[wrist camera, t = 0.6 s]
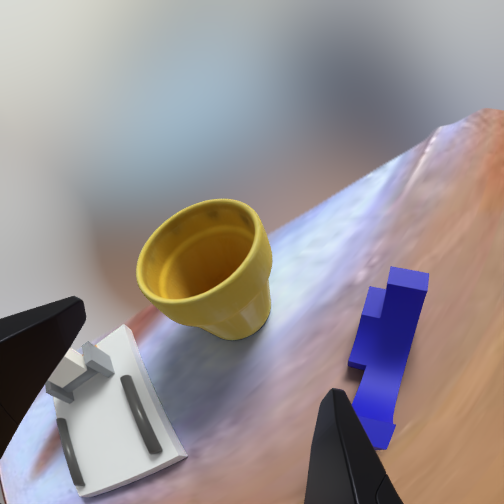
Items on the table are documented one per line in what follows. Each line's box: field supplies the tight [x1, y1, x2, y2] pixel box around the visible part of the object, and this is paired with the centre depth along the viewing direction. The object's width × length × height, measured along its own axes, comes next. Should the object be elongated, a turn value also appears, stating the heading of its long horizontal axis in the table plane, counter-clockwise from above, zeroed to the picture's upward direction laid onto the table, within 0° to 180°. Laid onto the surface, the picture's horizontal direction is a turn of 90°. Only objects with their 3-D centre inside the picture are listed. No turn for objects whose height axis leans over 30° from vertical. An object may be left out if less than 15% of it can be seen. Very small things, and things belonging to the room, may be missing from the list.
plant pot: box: [136, 199, 272, 340], centre depth 23 cm, size 10×10×10 cm
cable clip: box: [348, 267, 429, 450], centre depth 17 cm, size 12×4×6 cm, turn 152°
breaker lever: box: [48, 347, 99, 393], centre depth 20 cm, size 2×5×9 cm, turn 124°
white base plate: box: [45, 324, 188, 497], centre depth 20 cm, size 16×14×5 cm
